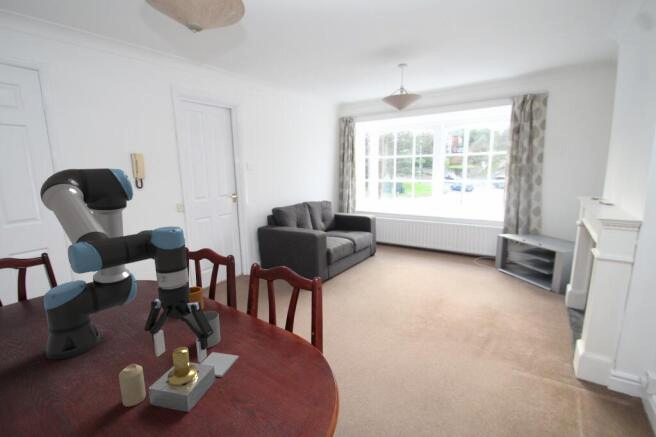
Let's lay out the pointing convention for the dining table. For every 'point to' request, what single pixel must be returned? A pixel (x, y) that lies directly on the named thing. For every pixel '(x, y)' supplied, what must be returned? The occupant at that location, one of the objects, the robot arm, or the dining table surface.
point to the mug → (196, 295)
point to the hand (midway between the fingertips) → (181, 356)
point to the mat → (220, 362)
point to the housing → (182, 389)
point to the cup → (214, 323)
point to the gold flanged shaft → (181, 368)
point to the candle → (132, 385)
